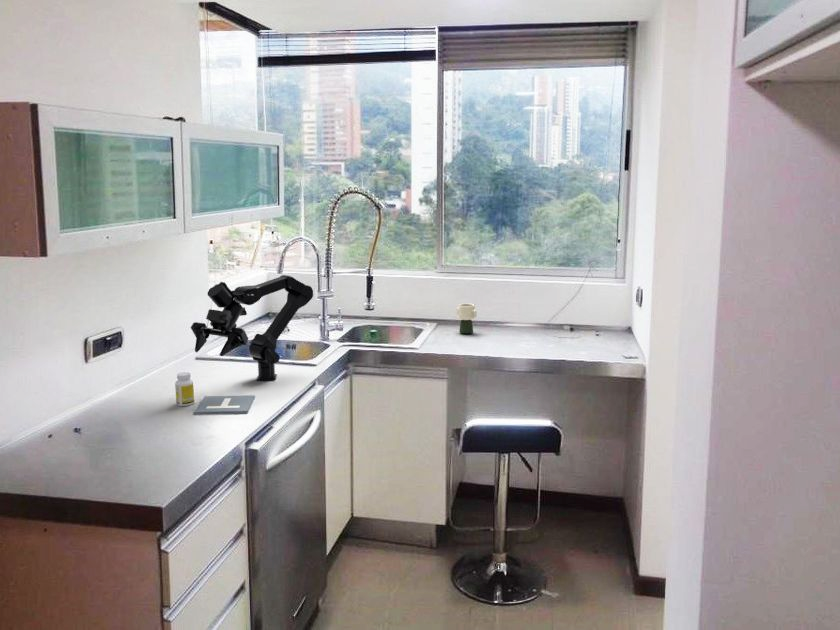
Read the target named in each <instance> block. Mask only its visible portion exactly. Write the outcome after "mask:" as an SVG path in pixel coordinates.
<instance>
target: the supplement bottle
mask: <svg viewBox="0 0 840 630" xmlns="http://www.w3.org/2000/svg"><path fill="white" fill-rule="evenodd" d="M176 379H177V380H176V381H175V384H174V388H175V399H176V400H175V401H176V405H177V406H178V407H186V406H192V405H193V404H194V403H195V396H194V395H195V392H194V382H193V380H192V379H191V373H190V372H188V371H186V372H179V373H177V375H176Z"/></svg>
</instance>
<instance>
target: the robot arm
mask: <svg viewBox="0 0 840 630" xmlns="http://www.w3.org/2000/svg"><path fill="white" fill-rule="evenodd" d="M281 290H285V291H286V292H287V297H286V302H285V303H284V305H283V306H282V308H281V309H280V311H279V312H278V314H277V315H276V317H275V318H274V319H273V321H272V322H270V325H269V326H268V328H267V329H266V331H265V332H264V333H262V334H261V333H257V334H255V335H254V338H252V339H251V341H249V337H248V335H247V332H246V330H245V329H244V328H243V327H237V326H238V325H237V322H238V320H239V318H240V317H242V316H243V317H244V316H247V315H248V313H247V311H246V307H243V305H244V306H245V305H246V306H252V305H254V304H256V303H258V302H259V301H260V300H261V298H264V297H265V296H267V295H270V294H273V293H276V292H279V291H281ZM207 296H208V297H209V299H210V300H211V301H212V302H213V303H214V304H215V306H217V307H218V308H222V311H221V310H218V309H210V308H209V309H208V311H207V314H206V317H205V319H206V320H208V321H209V322H210V323H209V325H210V326H211V327H208V326H207V325H206V323H204V322H197V321H195V322H193V323H192V325H191V326H190V329H191V330H192V333H193V335H194V337H195V338H196V339H195V340H196V341H195V346H194V352H195V353H198V352H199V351H200V350H201V349H202V348H203V346H204V345H206V343H207V341H208V339H209V337H210V335H211V336H218V337H220V338H221V337H222V338H227V340H226V342H225V343H224V345H223V346H222V349H221V351H220V353H219V356H221V357H223V356H225V355H226V354H227V353H230V352H231V351H233V350H234V349H237V348H238V347H242V346H246V345H247V344H248V342H249V343H250V344H249V346H248V351H249V354H250V356H251V357H252V360H253V361H255V362H257V373H258V374H257V377H256V378H255V380H256V381H276V378H277V377H278V374H277V373H276V369H275V365H276V363H279V362H280V359H281V355H279V353H277V352H276V349H277V342H278V341H277V340H278V339H279V338H280V336H281V335H282V333H283V332H284V331H285V329H286V328H287V326H288V325H289V323H290V322H291V320H292V319H293V317H294V316H295V315H296V313H297V312H298V310H300V309H301V308H303V307H305V306H306V305H307V304H308V303H309V302H310V301H312V299H313V297H314V290H313V288H312V286H310V285H308V284H307V285H306V284H305V283H303V282H301V281H300V280H297V279H296V278H294V277H293V276H292V275H287V274H286V275H285V274H282V275H280V276H278V277H275V278H273V279H270V280H267V281H265V282H261V283H259V284H256V285H242V286H238V287H235V289H234V290H231V289H230V287H228V284H227V283H226V282H225V281H224V282H223V281H220V282H219V283H218V284H216V285H214V286H212V287H210V288H209V289H208V291H207Z"/></svg>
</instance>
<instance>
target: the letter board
mask: <svg viewBox="0 0 840 630" xmlns="http://www.w3.org/2000/svg"><path fill="white" fill-rule="evenodd" d="M254 398H255V399H256V395H255V394H254V395H252V394H251V395H247V394H246V395H245V394H244V395H213V396H212V395H211V396H210V395H207V396H206V395H205V396H204V397H203V398H202V399H201V400H200V402H199V404H198V405H197V407H196V408H195V410H194V411H193V415H224V414H225V415H227V414H228V415H229V414H235V415H236V414H237V415H238V414H248V413H249V411H250V409H251V407H252V405H253V403H254V401H255V399H254ZM253 400H254V401H253Z"/></svg>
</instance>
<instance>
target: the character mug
mask: <svg viewBox="0 0 840 630" xmlns="http://www.w3.org/2000/svg"><path fill="white" fill-rule="evenodd" d="M456 315H458V319H459V320H461V321H460V324H459V333H460V334H468V335H469V334H471V333H474V326H473V321H472V320H474V319H475V318H477V315H478V314H477V310H476V309H475V304H473V303H460V304H459V303H458V307H456Z"/></svg>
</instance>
